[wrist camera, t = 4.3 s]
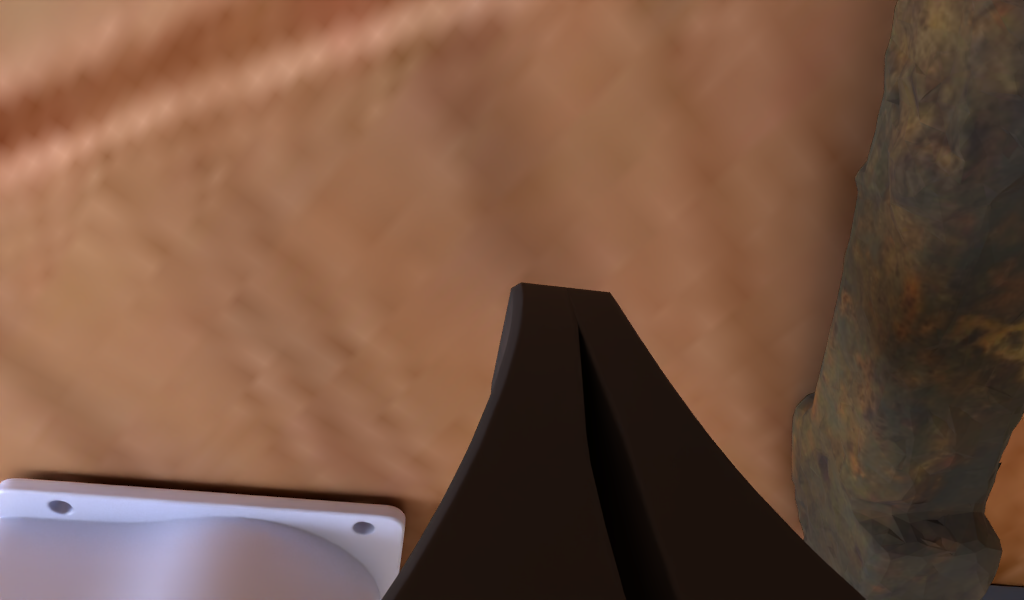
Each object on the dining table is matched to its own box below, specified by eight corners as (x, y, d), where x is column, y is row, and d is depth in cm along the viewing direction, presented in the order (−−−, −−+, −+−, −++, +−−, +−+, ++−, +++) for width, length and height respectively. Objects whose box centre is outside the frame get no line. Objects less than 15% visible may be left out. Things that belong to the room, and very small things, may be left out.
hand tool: (901, -422, 9) (1189, -492, 5) (1254, -440, 9) (1793, -523, 5) (705, 538, 21) (750, 720, 17) (853, 532, 21) (930, 713, 17)
